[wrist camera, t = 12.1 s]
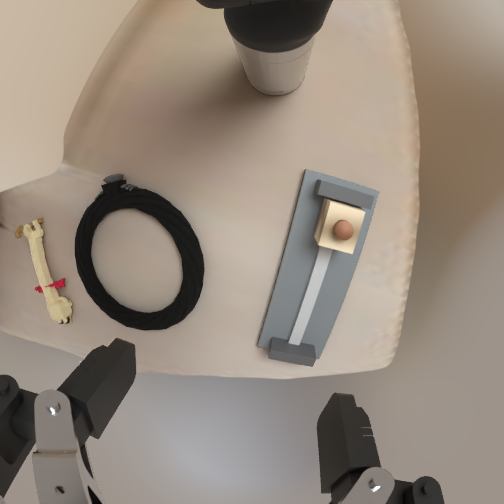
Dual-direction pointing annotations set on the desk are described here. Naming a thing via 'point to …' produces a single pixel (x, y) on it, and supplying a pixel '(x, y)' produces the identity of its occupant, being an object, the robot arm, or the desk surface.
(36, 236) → the cat figure
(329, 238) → the keeper
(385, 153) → the desk surface
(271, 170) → the desk surface
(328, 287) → the rail board
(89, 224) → the cable lock
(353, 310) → the desk surface
